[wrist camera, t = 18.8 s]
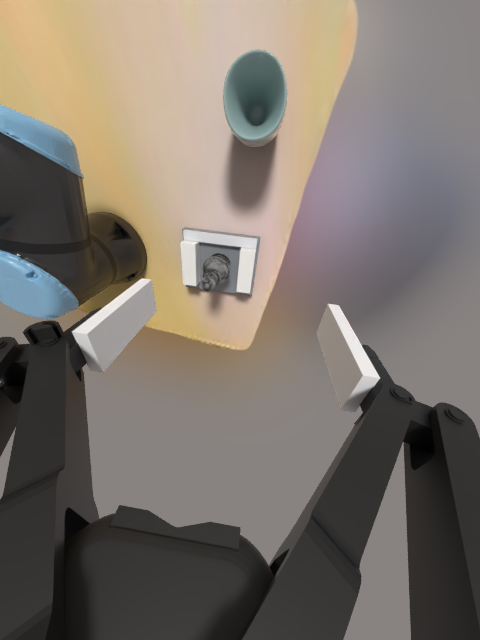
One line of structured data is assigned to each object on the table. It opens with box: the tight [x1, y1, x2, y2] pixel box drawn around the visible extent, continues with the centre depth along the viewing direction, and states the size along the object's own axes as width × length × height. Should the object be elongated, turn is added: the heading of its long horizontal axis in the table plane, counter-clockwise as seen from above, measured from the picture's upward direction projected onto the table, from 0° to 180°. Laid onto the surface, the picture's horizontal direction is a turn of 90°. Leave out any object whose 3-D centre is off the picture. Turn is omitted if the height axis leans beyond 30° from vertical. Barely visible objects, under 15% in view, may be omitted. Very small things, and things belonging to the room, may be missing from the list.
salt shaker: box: [201, 253, 231, 291], centre depth 40 cm, size 6×6×12 cm
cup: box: [223, 49, 287, 147], centre depth 29 cm, size 8×8×10 cm
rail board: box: [180, 228, 260, 296], centre depth 45 cm, size 16×13×4 cm
